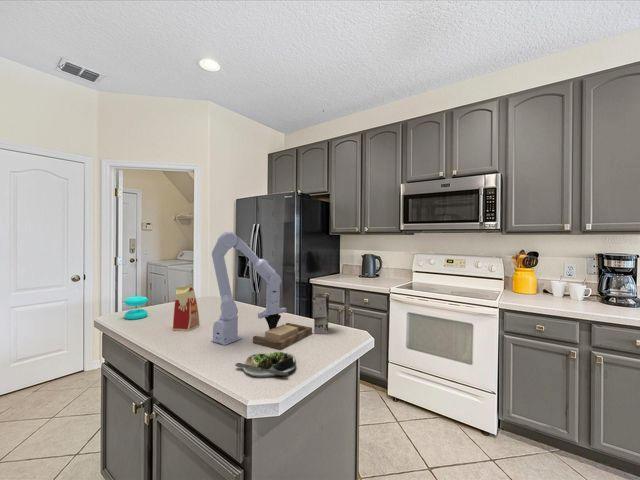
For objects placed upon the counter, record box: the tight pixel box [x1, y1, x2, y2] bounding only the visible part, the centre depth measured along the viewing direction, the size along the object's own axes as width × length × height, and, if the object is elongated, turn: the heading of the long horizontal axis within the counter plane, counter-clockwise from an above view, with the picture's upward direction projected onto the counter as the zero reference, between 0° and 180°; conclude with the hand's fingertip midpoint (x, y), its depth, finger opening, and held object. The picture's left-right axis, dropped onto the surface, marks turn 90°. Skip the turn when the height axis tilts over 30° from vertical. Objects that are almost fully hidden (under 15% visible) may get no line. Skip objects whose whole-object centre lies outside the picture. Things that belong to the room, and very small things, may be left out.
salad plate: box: [235, 351, 297, 378], centre depth 97 cm, size 19×18×5 cm
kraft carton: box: [264, 323, 298, 341], centre depth 125 cm, size 12×8×4 cm, turn 148°
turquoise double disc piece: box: [124, 295, 149, 320], centre depth 151 cm, size 10×10×10 cm
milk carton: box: [172, 284, 201, 332], centre depth 136 cm, size 9×9×20 cm
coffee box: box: [313, 293, 330, 335], centre depth 136 cm, size 9×6×16 cm
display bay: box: [252, 322, 313, 351], centre depth 125 cm, size 23×14×2 cm, turn 150°
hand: (272, 331), depth 128 cm, fingers closed
